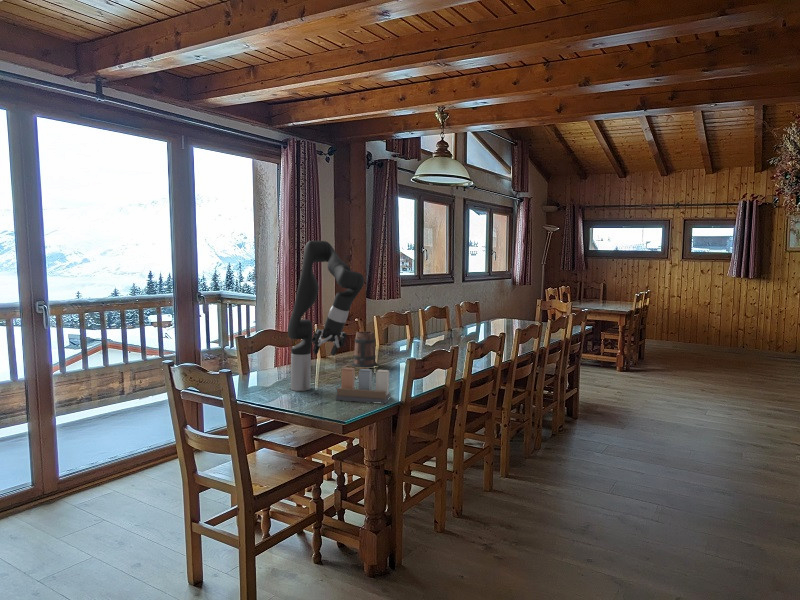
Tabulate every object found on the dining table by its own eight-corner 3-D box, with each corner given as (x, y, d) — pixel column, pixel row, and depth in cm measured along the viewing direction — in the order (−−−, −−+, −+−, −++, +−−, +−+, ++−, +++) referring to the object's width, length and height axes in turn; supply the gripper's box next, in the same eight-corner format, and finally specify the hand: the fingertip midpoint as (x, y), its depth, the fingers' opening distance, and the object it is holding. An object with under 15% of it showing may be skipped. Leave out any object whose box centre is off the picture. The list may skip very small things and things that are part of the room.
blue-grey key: (360, 391, 248) (361, 368, 248) (371, 392, 247) (371, 369, 247) (358, 393, 244) (358, 370, 244) (369, 394, 243) (369, 370, 243)
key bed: (343, 393, 252) (344, 383, 252) (390, 397, 248) (390, 386, 248) (336, 400, 240) (336, 389, 240) (384, 404, 236) (385, 392, 236)
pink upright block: (343, 390, 250) (344, 367, 249) (354, 390, 249) (354, 368, 248) (341, 392, 246) (341, 369, 245) (351, 392, 245) (352, 369, 244)
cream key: (377, 392, 247) (378, 369, 246) (388, 393, 246) (389, 370, 245) (375, 394, 243) (376, 371, 242) (386, 395, 242) (387, 372, 241)
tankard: (352, 362, 327) (352, 329, 326) (380, 363, 326) (380, 330, 325) (346, 370, 304) (347, 335, 302) (376, 371, 303) (377, 336, 301)
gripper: (346, 316, 224) (333, 351, 227) (317, 312, 214) (304, 348, 218) (356, 323, 219) (342, 359, 222) (327, 320, 209) (313, 357, 212)
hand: (323, 354), depth 220 cm, fingers open, 8 cm apart
